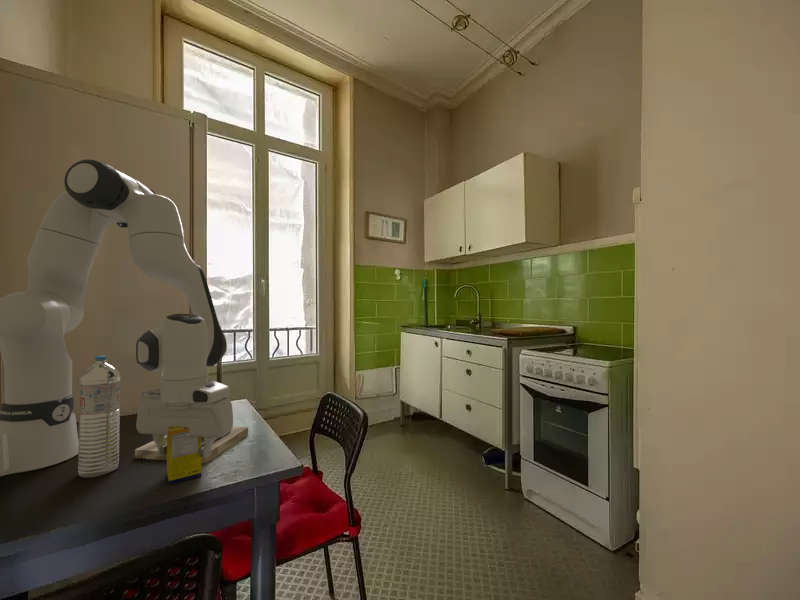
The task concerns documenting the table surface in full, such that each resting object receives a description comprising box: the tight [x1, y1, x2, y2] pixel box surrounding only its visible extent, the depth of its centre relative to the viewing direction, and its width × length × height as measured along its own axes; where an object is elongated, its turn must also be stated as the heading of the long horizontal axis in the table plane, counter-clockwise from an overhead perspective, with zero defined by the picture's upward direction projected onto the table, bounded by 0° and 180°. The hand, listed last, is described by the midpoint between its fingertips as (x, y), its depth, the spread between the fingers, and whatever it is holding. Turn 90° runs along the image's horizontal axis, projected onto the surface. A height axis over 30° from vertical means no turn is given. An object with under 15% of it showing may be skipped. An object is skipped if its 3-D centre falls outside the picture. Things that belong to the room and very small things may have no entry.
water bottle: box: [77, 355, 121, 479], centre depth 78 cm, size 7×7×25 cm
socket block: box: [134, 426, 249, 464], centre depth 92 cm, size 18×18×2 cm
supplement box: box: [166, 427, 203, 485], centre depth 77 cm, size 6×6×11 cm
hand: (184, 454), depth 77 cm, fingers closed on supplement box, 8 cm apart
